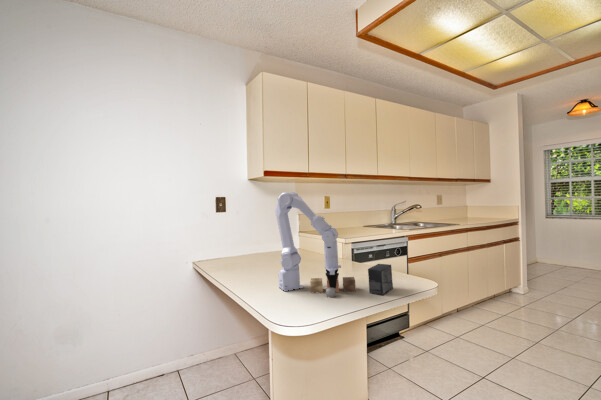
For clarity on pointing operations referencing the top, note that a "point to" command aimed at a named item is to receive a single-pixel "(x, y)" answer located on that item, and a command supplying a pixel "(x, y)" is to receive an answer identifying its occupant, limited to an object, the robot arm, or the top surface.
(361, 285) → the top surface
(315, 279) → the oak block
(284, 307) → the top surface
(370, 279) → the small box
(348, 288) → the walnut block
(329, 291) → the grey tin
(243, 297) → the top surface
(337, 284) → the terracotta block
